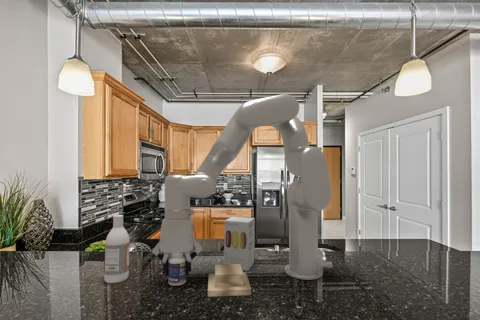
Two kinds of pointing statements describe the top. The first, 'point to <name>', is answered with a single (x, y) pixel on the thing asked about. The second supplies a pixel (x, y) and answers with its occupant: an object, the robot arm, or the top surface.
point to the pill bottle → (177, 269)
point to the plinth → (228, 289)
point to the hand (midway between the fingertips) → (177, 273)
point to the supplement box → (239, 241)
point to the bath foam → (117, 252)
